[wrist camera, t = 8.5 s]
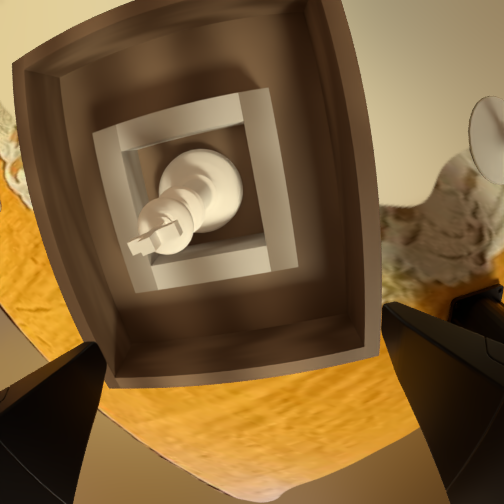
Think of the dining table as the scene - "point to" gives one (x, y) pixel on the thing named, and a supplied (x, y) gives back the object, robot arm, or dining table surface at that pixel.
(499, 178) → the wineglass
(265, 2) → the walnut box
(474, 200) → the dining table surface
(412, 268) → the dining table surface
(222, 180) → the chess piece
